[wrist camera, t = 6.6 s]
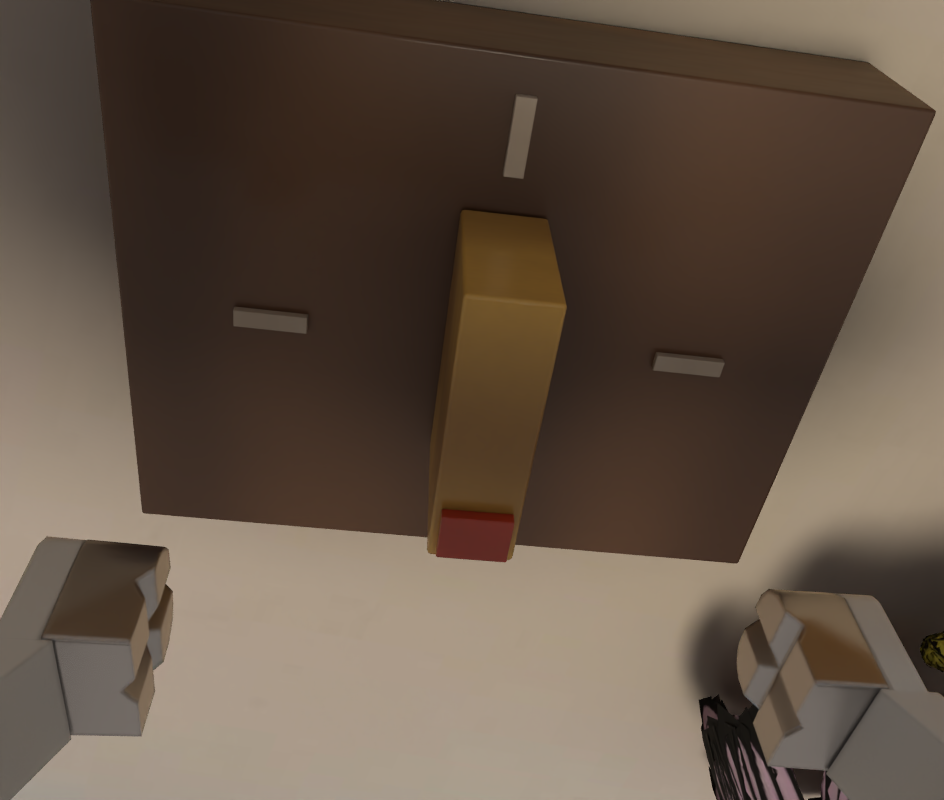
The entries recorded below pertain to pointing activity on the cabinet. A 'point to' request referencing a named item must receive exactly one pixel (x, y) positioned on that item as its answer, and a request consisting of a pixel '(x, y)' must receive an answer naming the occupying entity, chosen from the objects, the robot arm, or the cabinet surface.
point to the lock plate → (434, 244)
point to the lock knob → (492, 383)
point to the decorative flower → (741, 757)
